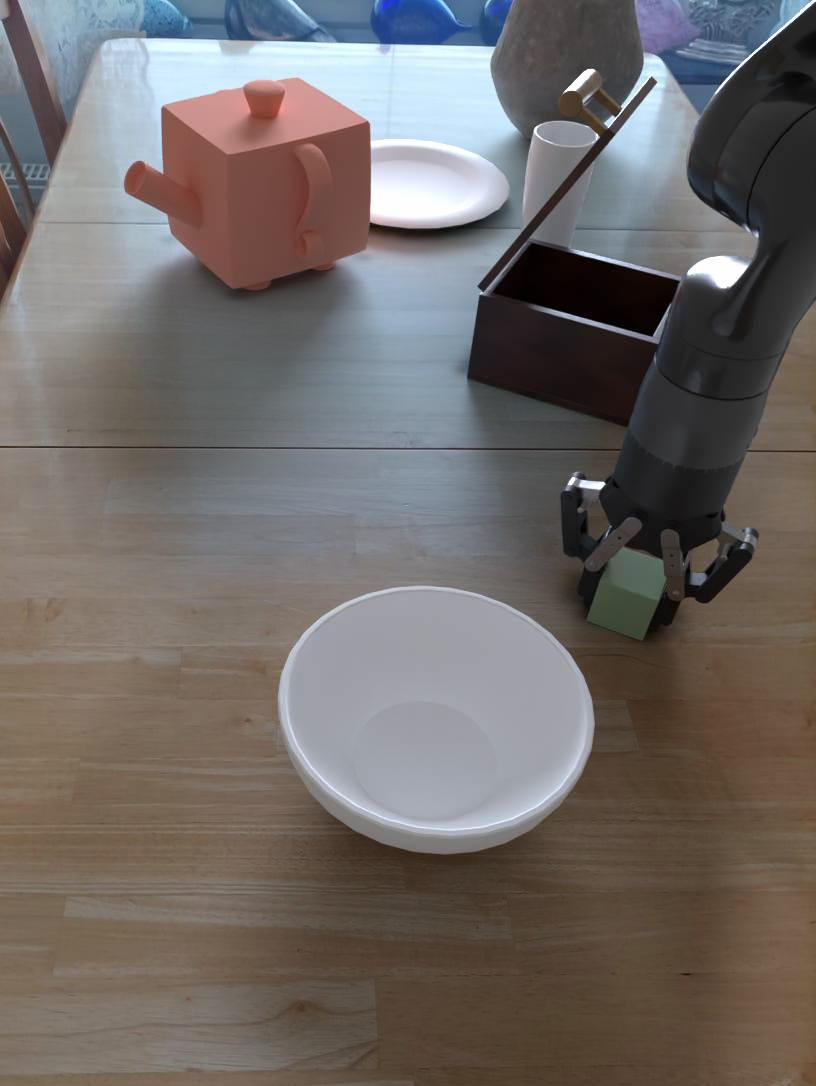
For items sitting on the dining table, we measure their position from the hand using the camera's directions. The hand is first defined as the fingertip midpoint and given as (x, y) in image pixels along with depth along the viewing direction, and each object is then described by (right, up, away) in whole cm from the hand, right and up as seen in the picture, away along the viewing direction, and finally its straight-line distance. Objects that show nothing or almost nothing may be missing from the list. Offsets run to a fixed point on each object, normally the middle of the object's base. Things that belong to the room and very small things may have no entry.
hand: (623, 609), depth 75 cm
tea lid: (-2, +37, +10) cm, 39 cm away
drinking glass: (+1, +39, +35) cm, 52 cm away
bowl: (-16, -11, -9) cm, 22 cm away
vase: (+8, +68, +61) cm, 92 cm away
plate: (-13, +54, +47) cm, 73 cm away
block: (0, 0, 0) cm, 0 cm away
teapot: (-33, +40, +34) cm, 62 cm away
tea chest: (+1, +25, +22) cm, 33 cm away
